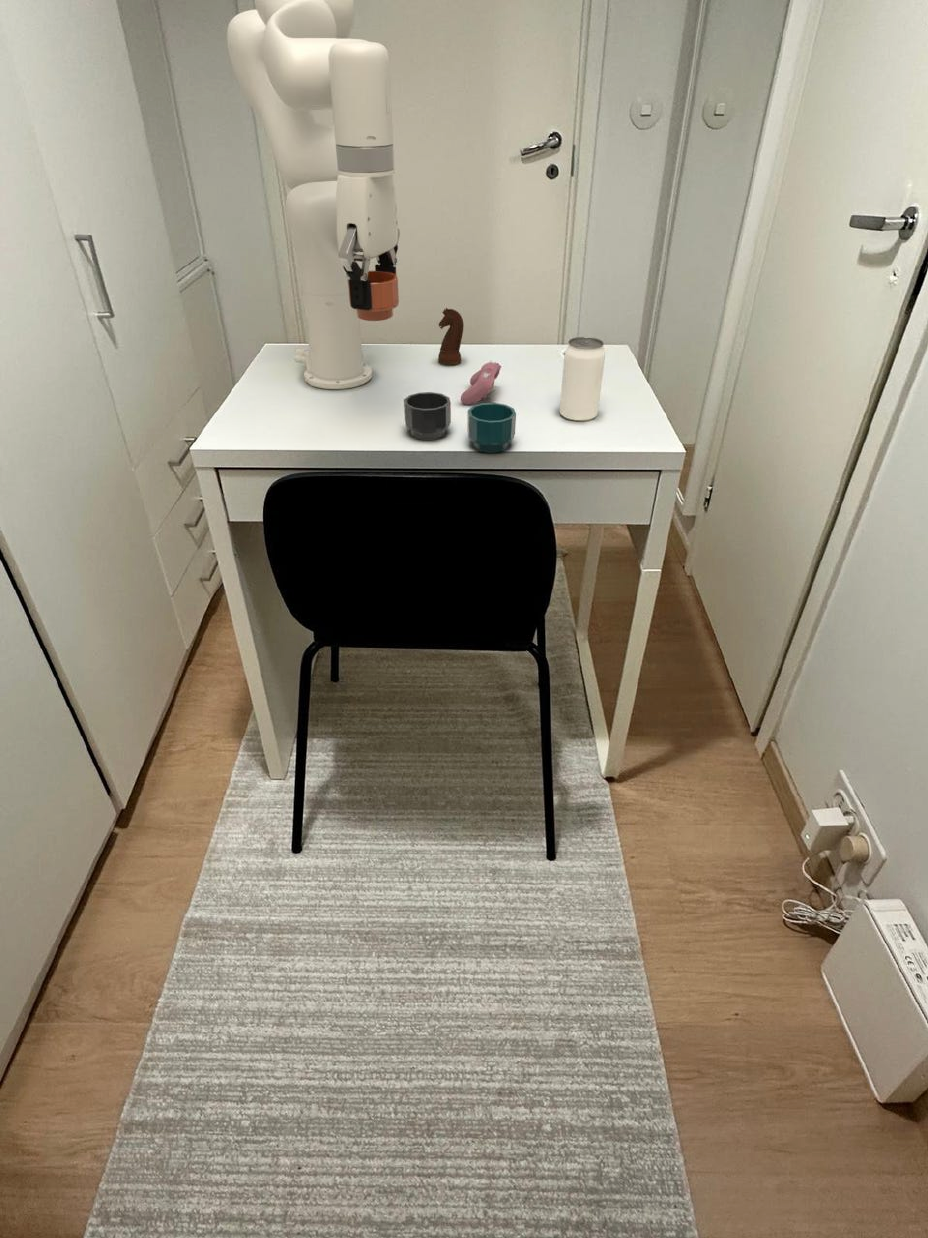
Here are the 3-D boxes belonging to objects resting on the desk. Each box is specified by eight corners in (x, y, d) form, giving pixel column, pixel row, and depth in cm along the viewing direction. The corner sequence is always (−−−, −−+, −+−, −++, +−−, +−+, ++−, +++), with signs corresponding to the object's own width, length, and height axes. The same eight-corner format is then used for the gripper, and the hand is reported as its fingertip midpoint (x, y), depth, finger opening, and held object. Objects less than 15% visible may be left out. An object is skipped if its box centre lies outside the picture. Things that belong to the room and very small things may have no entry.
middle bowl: (341, 319, 107) (338, 280, 103) (364, 306, 112) (362, 268, 109) (385, 325, 105) (383, 285, 101) (407, 311, 110) (405, 273, 107)
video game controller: (480, 415, 126) (499, 381, 122) (457, 402, 125) (476, 367, 121) (490, 394, 134) (508, 361, 129) (468, 381, 133) (486, 348, 129)
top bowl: (460, 450, 112) (460, 417, 108) (477, 432, 117) (478, 400, 114) (504, 458, 110) (505, 424, 106) (520, 439, 115) (521, 407, 112)
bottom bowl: (398, 438, 115) (396, 405, 112) (417, 421, 120) (416, 389, 117) (439, 445, 113) (438, 412, 110) (457, 428, 118) (457, 396, 115)
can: (573, 424, 119) (580, 351, 112) (551, 410, 124) (557, 339, 116) (605, 417, 122) (614, 345, 114) (583, 404, 126) (591, 333, 119)
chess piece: (443, 356, 145) (442, 304, 139) (467, 360, 144) (467, 307, 137) (434, 364, 142) (433, 310, 135) (458, 367, 140) (458, 313, 134)
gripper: (371, 151, 103) (379, 283, 114) (306, 167, 91) (322, 314, 102) (418, 154, 101) (422, 289, 112) (359, 171, 89) (369, 321, 100)
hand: (374, 300), depth 107 cm, fingers closed on middle bowl, 7 cm apart
